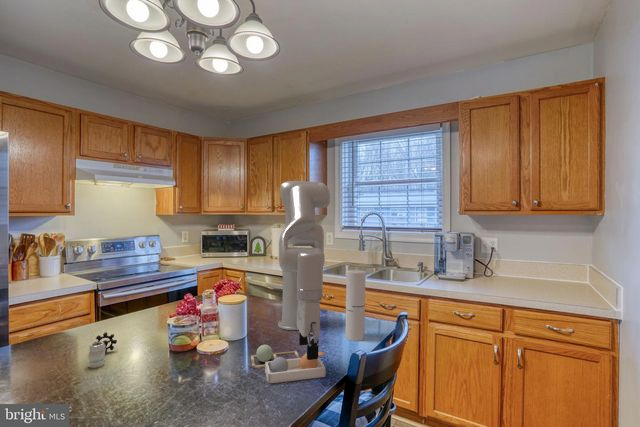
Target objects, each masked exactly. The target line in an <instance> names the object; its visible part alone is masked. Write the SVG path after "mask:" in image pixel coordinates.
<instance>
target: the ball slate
mask: <svg viewBox="0 0 640 427" xmlns="http://www.w3.org/2000/svg"><path fill="white" fill-rule="evenodd" d="M276 357H277V358H275V359H274V358H273V360H271V361H272V363H271V371H272V373H275V372H284V371H287V370H288V362H287V359H286V358H284V357H283V356H276Z"/></svg>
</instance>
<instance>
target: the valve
mask: <svg viewBox="0 0 640 427" xmlns="http://www.w3.org/2000/svg"><path fill="white" fill-rule="evenodd" d="M108 334H109V333H108V332H106V331H105V332H103V334H102V336H101V335H99V334H98V335H97V336H96V337H95V340H97V341H94V342H92V343H90V345H89V352H88V356H87V357H88V360H89V362H88V364H89V365H88V368H89V367H90V368H89V369H97V368H100V367H103V365H104V363H105V355H106V353H107V352H108V350H109V349H110V351H113V350H114V349H115V346H114V345H116V344H117V342H118V340H117V339H114V338H115V334H113V333H112V334H110V335H108ZM102 339H105V340H102ZM107 339H108V340H107ZM109 343H110V344H109Z"/></svg>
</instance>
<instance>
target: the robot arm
mask: <svg viewBox="0 0 640 427" xmlns="http://www.w3.org/2000/svg"><path fill="white" fill-rule="evenodd" d="M280 198H281V201H282V205H283V207H284V211H285V226H284V227H285V228H284V229H283V230H282V233H281V234H280V236H279V240H278V262H279V267H280V269H281V270H282V271H281V272H282V300H281V301H282V304H281V305H282V306H281V308H282V309H281V311H282V312H281V319H280V320H279V321H278V323H277V324H278V327H279V328H280V329H283V330H287V331H299V334H298V336H299V338H298V339H299V346H306V353H307V360H313V359H318V357H319V356H318V352H319V345H320V344H319V340H320V339H319V337H320V331H321V304H320V302H321V301H322V300H323V289H324V287H323V284H324V281H323V280H324V266H325V261H326V259H325V253H324V252H325V251H324V249H325V248H324V247H325V243H324V242H325V241H324V240H325V233H324V229H323V226H322V225H321V224H319V223H317V215H316V209H317V208H318V209H319V208H320V209H322V208H324V209H326V208H328V207H329V205H330V203H331V193H330V189H329V187H328V186H327V184H325V183H324V182H322V181H321V182H320V181H308V180H307V181H306V180H305V181H304V180H288V181H284V182H282V183H281V184H280ZM288 245H289V246H291V247H288ZM292 246H293V247H292Z"/></svg>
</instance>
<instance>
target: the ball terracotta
mask: <svg viewBox="0 0 640 427" xmlns="http://www.w3.org/2000/svg"><path fill="white" fill-rule="evenodd" d="M300 358H301V360H300V367H301V369H310V368H316V366H317V361H316V359H313V360H307V354H306V355H302V357H300Z"/></svg>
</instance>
